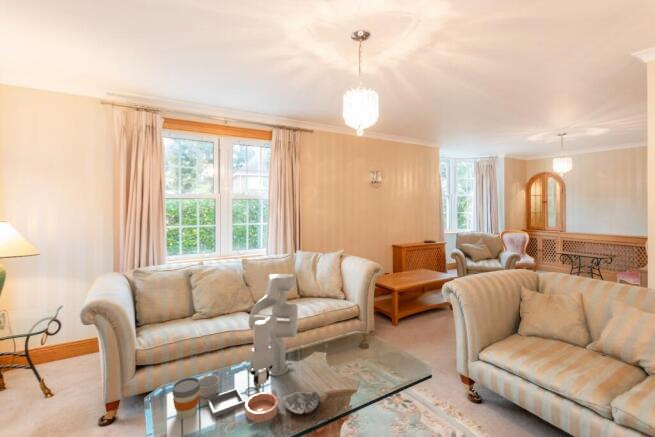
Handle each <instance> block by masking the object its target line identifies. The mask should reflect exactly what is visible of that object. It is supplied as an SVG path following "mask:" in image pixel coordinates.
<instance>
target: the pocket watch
mask: <svg viewBox="0 0 655 437" xmlns="http://www.w3.org/2000/svg"><path fill="white" fill-rule="evenodd" d="M253 385H254V386H251V387H248V388H246V389H245V391H244V392H245V395H247V396H252V395H255V394H257V393H258V390H260V388H261V387H262V384H256V382H254V379H253ZM249 389H255V390H256V392H255V393H251V394H249V393H247V391H248V390H249Z"/></svg>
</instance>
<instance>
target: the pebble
mask: <svg viewBox="0 0 655 437" xmlns="http://www.w3.org/2000/svg"><path fill="white" fill-rule="evenodd" d="M257 375H258V384H261V385H263V384H265V383H267V381H268V380H267V370H266V368H263V369H260V370H258V373H257ZM258 384H257V385H258Z"/></svg>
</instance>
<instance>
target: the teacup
mask: <svg viewBox="0 0 655 437" xmlns="http://www.w3.org/2000/svg"><path fill="white" fill-rule="evenodd" d="M203 376H204V377H202V378H201V379H200V380H199V383H200V389H199V392H200V394H199V396H200V397H202V398H204V399H207V398H209V397H212V396H215V395H218V394H219V393H218V392H219V391H220V378H219V376H217V375H215V374H214V375H213V374H212V375H208V374H204V375H203Z"/></svg>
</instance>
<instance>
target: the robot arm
mask: <svg viewBox="0 0 655 437" xmlns="http://www.w3.org/2000/svg"><path fill="white" fill-rule="evenodd" d="M296 285H297V277H296V275H294V274H290V273H289V274H284V273H283V274H282V273H273V274H269V276H268V277H267V284H266V287H265V290H264V294H263V297H262V298H261V299H259V300H258V301H256V303H255V304H254V305H253V306H252V309H251V311H250V314H249V317H248V327H249V329H251V330H253V348H251V353H250V361H249V363H250V364H249V366H248V368H247V370H246V371H247V373H249V374H251V375H252V376H253V380H254V381H253V383H254V382H256V384H257V385H258V375H257V373H258V370H260V369H266V370H267V381H269V378H270V376H273V377H280V376H283V375H285V374H287V372H288V369H289V368H288V366H291V365H293V361H292V360H290V361H289V360H286V341H285V339H284V338H291V339H292V338H295V337H296V336H297V332H298V316H299V313H298V312H299V311H298V310H299V309H298V305H297V303H295V302H287V293H286V292H291V291H292V290H294V288H295V287H296ZM270 307H271V314H260V312H261V311H263V310H265V309H267V308H270ZM278 319H284V320H278ZM285 319H286V320H285Z"/></svg>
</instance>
